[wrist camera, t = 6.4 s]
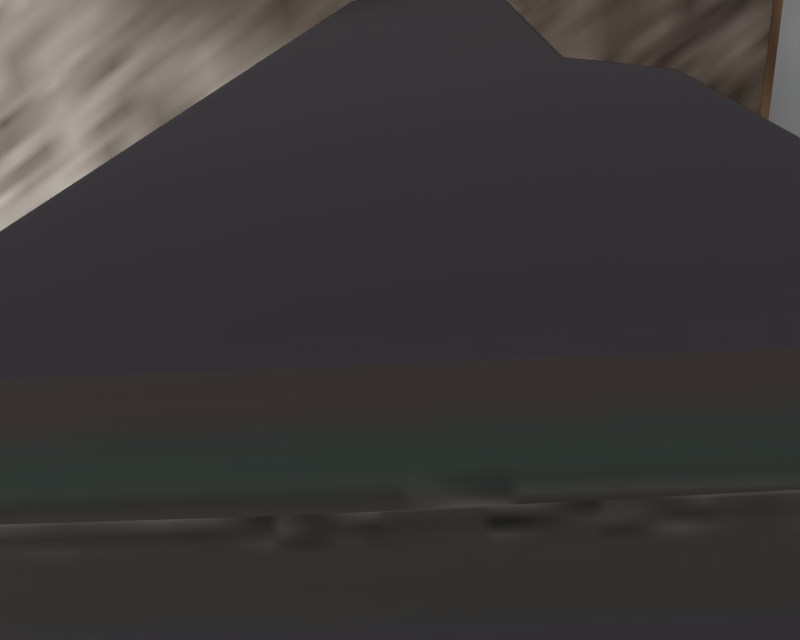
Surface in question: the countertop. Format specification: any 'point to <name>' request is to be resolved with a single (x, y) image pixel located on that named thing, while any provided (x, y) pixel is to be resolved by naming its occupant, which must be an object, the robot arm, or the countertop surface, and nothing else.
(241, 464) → the tall charcoal block
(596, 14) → the countertop surface
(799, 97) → the grey tray
